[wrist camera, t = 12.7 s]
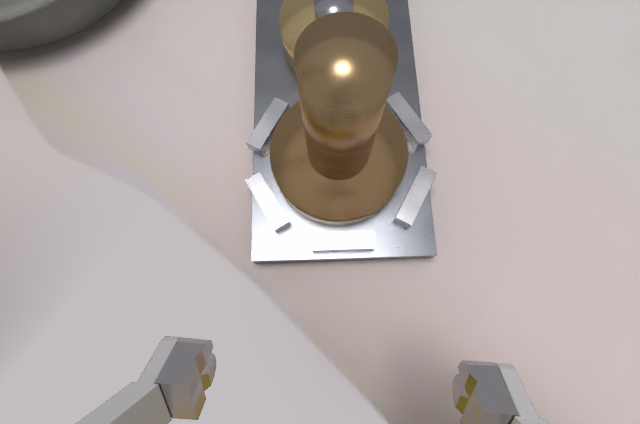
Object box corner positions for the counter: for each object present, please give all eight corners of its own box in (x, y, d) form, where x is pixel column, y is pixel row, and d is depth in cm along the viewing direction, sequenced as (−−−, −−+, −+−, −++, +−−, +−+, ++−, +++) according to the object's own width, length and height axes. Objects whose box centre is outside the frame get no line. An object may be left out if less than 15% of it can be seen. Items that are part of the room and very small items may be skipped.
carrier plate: (251, 263, 21) (230, 254, 17) (257, -6, 26) (242, -67, 22) (435, 257, 21) (463, 246, 16) (404, -13, 26) (419, -77, 22)
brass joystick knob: (275, 228, 20) (227, 169, 11) (274, 109, 22) (232, -32, 12) (406, 222, 20) (480, 158, 10) (394, 104, 22) (447, -44, 12)
